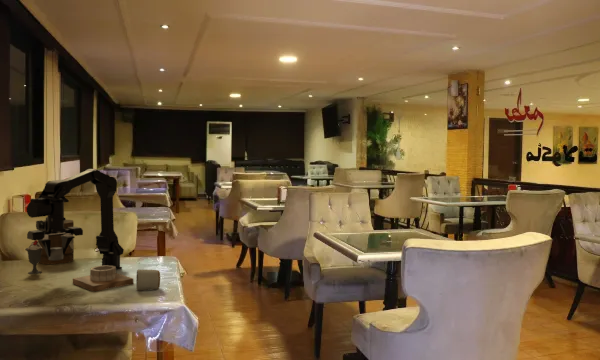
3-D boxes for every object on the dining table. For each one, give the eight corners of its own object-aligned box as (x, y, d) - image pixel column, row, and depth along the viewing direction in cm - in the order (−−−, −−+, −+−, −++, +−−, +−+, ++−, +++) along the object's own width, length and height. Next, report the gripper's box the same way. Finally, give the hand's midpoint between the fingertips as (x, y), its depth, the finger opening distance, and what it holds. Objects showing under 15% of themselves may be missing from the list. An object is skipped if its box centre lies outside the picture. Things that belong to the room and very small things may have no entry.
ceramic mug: (160, 291, 190) (160, 270, 189) (137, 293, 187) (137, 271, 186) (157, 284, 199) (157, 264, 199) (135, 286, 196) (135, 266, 196)
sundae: (36, 275, 210) (36, 238, 209) (21, 274, 211) (21, 237, 210) (47, 271, 216) (47, 235, 215) (33, 270, 217) (33, 234, 217)
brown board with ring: (111, 276, 210) (111, 261, 210) (133, 283, 200) (133, 268, 199) (72, 283, 198) (72, 267, 198) (93, 291, 188) (93, 275, 187)
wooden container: (79, 261, 237) (79, 213, 236) (46, 266, 226) (45, 215, 225) (64, 256, 247) (64, 210, 246) (32, 260, 236) (31, 212, 235)
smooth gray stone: (59, 257, 201) (59, 246, 201) (65, 259, 198) (65, 248, 198) (46, 259, 197) (46, 248, 197) (52, 261, 194) (52, 250, 194)
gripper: (70, 211, 209) (70, 249, 210) (20, 214, 195) (21, 256, 196) (83, 213, 202) (83, 253, 203) (33, 217, 188) (33, 260, 189)
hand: (55, 255), depth 198 cm, fingers closed on smooth gray stone, 5 cm apart
